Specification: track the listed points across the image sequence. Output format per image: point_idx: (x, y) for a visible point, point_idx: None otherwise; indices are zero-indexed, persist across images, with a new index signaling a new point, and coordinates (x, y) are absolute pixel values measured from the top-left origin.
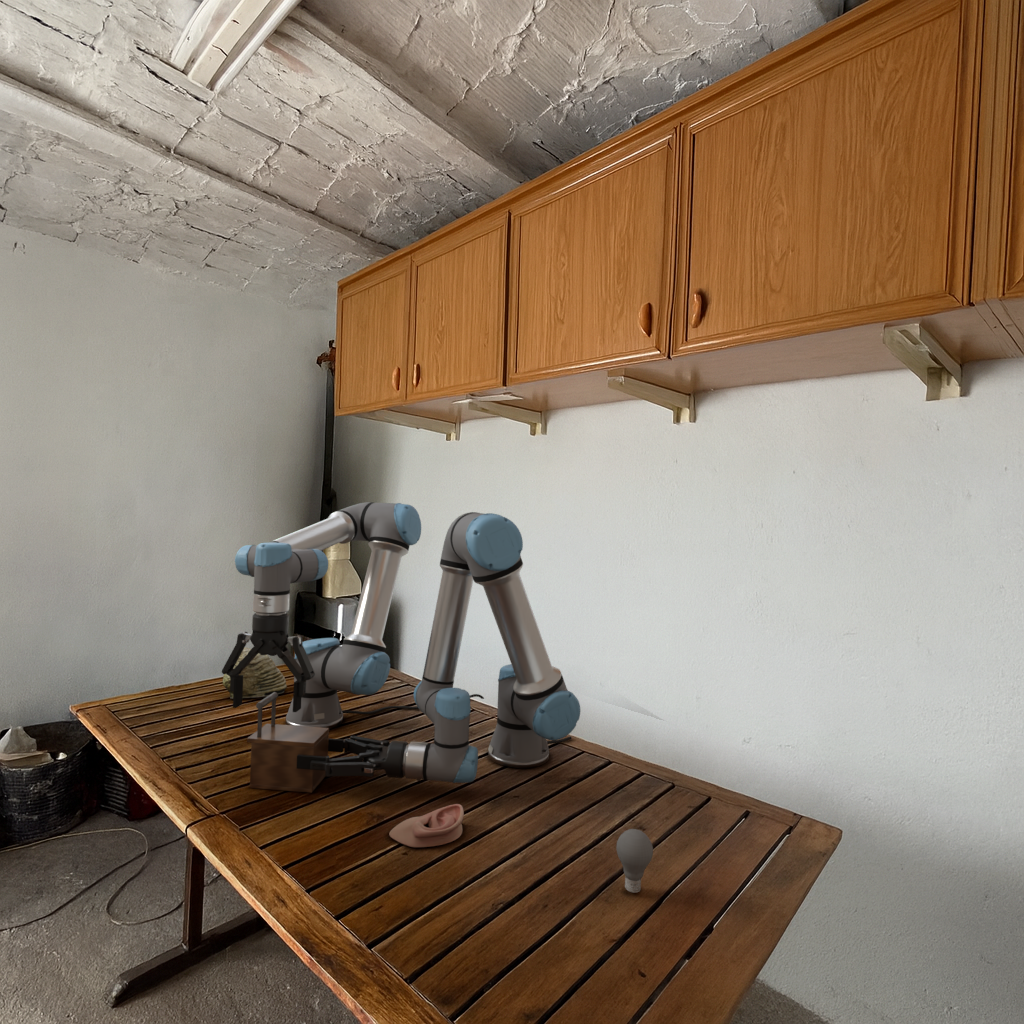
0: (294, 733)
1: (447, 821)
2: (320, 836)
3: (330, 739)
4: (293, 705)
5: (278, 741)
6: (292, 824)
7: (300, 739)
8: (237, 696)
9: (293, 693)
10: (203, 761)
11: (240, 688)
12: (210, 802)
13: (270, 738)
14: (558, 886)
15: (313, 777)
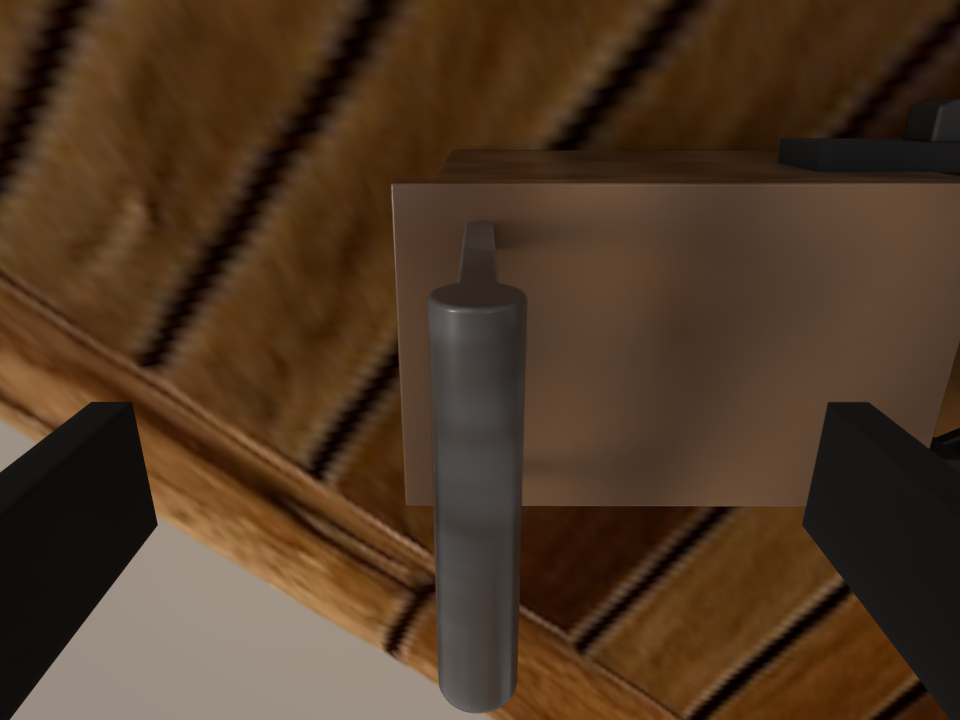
0: (724, 365)
1: None
2: (872, 651)
3: (949, 165)
4: (844, 570)
5: (645, 502)
6: (752, 601)
7: (802, 464)
8: (86, 592)
9: (933, 697)
10: (8, 97)
11: (9, 592)
12: (360, 506)
13: (573, 481)
14: None
15: None
